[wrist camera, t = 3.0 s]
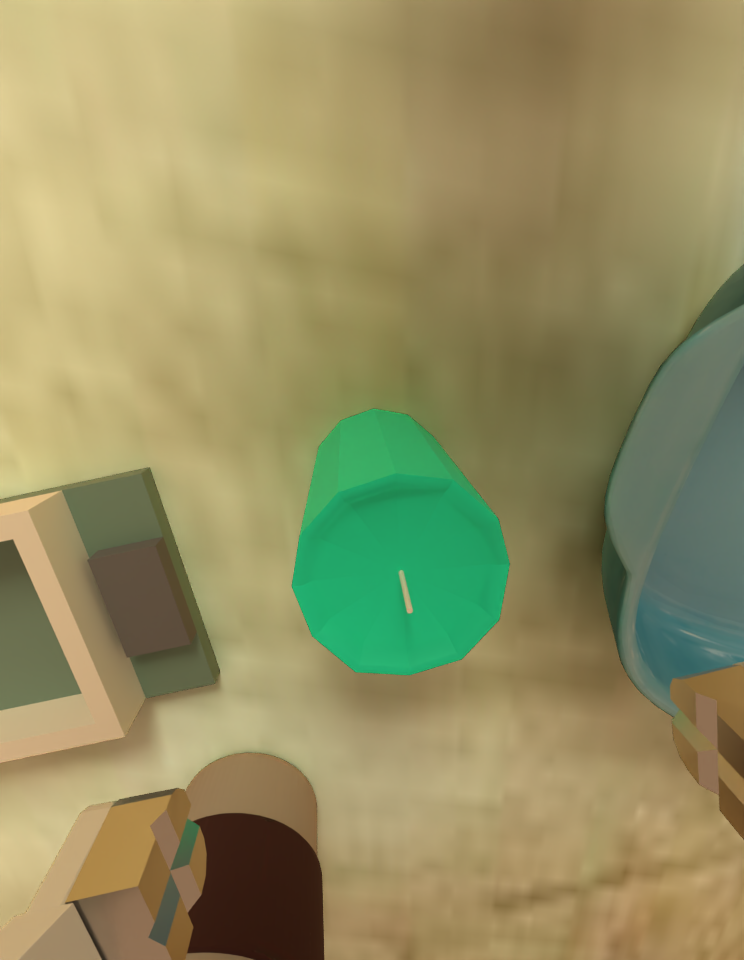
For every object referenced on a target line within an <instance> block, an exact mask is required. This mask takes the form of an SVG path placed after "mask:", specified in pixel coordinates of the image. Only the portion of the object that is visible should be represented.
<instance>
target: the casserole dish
mask: <svg viewBox="0 0 744 960" xmlns="http://www.w3.org/2000/svg"><path fill="white" fill-rule="evenodd" d="M604 518H605V522H606V526H607V531H606V534H605V538H604V543H603V549H602V580H603V589H604V595H605V600H606V604H607V609H608V613H609V617H610V621H611V625H612V629H613V633H614V637H615V641H616V645H617V649H618V653H619V657H620V660H621V663H622V665H623V667H624V669H625V671H626V673H627V675H628V677H629V678H630V680H631V681H632V682H633V684H634V685H635V686H636V688H637V689H638V690H639V691H640V692H641V693H642V694H643V695H644V696H645V697H646V698H647V699H648V700H650V701H651V702H652V703H653V704H655V705H656V706H657V707H658V708H660V709H661V710H663V711H665V712H666V713H668V714H669V715H671V716H672V717H675V716H676V714H677V712H678V711H679V708H678V707H677V706H676V705H675V704H674V703H673V701H672V700H671V699H670V684H671V682H672V679H673V678H676V677H681V676H685V675H689V674H694V673H698V672H702V671H707V670H711V669H715V668H720V667H724V666H728V665H733V664H735V663H740V662H744V264H743V265H742V266H741V267H740V268H739V269H738V270H737V271H736V272H734V273H733V274H732V275H731V276H730V278H729V279H728V280H727V281H726V282H725V283H724V284H723V285H722V286H721V288H720V289H719V290H718V291H717V293H716V294H715V295H714V296H713V298H712V299H711V300H710V302H709V303H708V304H707V306H706V307H705V309H704V310H703V312H702V313H701V315H700V316H699V318H698V319H697V321H696V323H695V325H694V326H693V328H692V330H691V332H690V333H689V335H688V337H687V339H686V340H685V341H684V342H682V343H681V344H680V345H679V346H678V347H677V348H676V349H675V350H674V351H673V352H672V353H671V354H670V356H669V357H668V358H667V359H666V360H665V361H664V362H663V364H662V365H661V366H660V368H659V370H658V371H657V373H656V375H655V376H654V378H653V380H652V381H651V383H650V385H649V387H648V389H647V391H646V393H645V395H644V397H643V399H642V401H641V403H640V405H639V407H638V410H637V412H636V414H635V416H634V418H633V420H632V422H631V424H630V426H629V429H628V431H627V434H626V436H625V438H624V441H623V443H622V445H621V448H620V450H619V453H618V455H617V457H616V460H615V463H614V466H613V469H612V471H611V474H610V478H609V482H608V486H607V490H606V494H605V505H604Z"/></svg>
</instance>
